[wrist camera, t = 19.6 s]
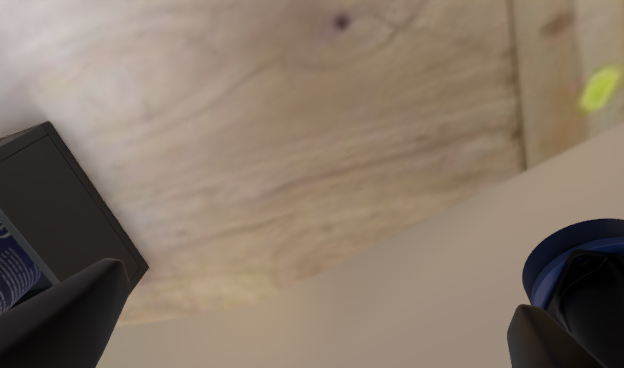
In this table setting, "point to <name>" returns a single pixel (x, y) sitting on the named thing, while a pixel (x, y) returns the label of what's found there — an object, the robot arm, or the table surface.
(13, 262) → the pill bottle
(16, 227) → the storage bin
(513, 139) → the table surface
